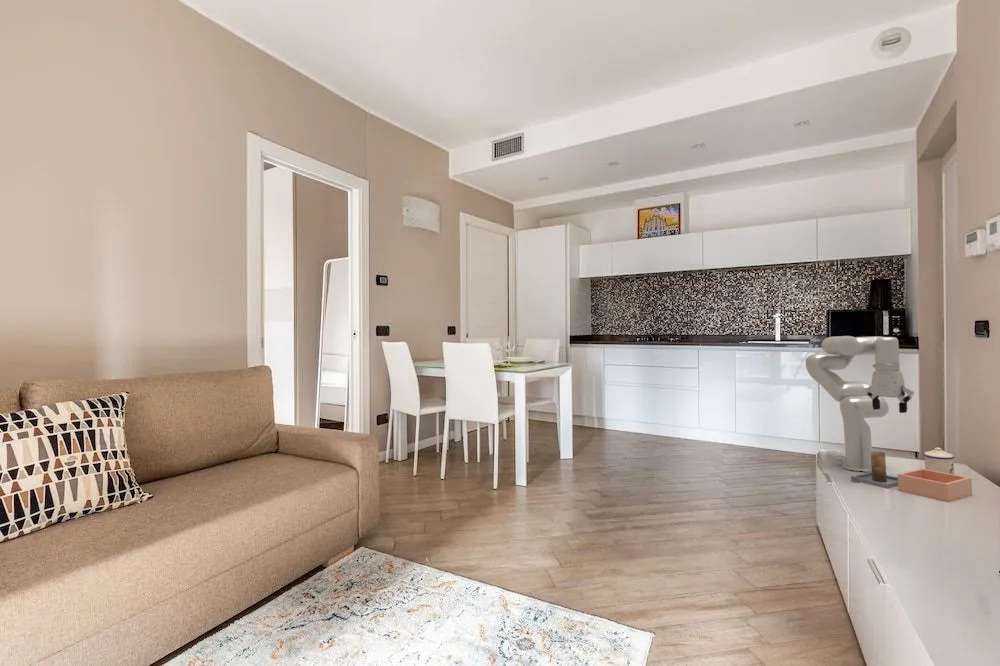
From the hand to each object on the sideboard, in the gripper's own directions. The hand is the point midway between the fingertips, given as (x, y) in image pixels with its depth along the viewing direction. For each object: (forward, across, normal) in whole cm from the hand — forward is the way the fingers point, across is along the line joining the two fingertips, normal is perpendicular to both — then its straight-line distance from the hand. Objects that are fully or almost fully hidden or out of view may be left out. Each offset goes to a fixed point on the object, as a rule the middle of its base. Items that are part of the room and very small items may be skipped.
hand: (889, 410), depth 191 cm
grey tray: (+28, -1, -7) cm, 29 cm away
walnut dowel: (+27, -1, -7) cm, 28 cm away
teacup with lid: (+28, +3, +23) cm, 36 cm away
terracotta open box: (+28, +16, -3) cm, 32 cm away
